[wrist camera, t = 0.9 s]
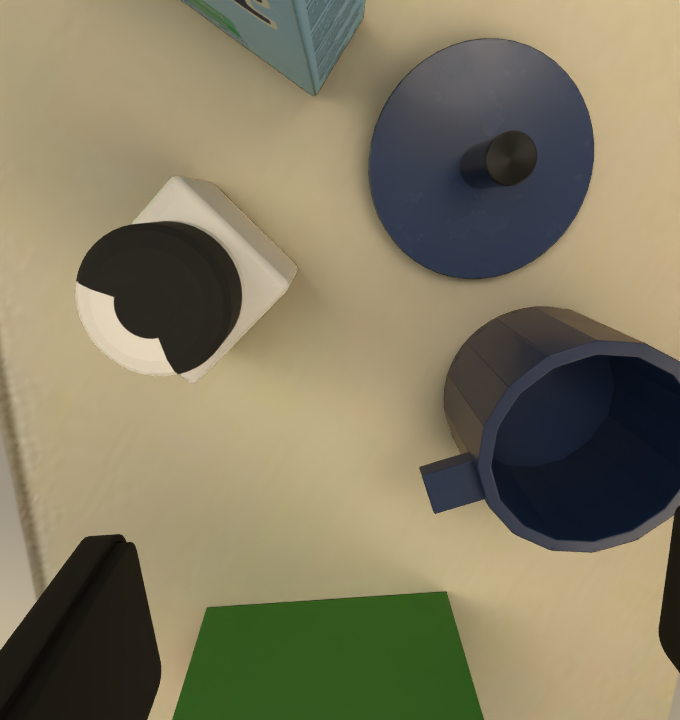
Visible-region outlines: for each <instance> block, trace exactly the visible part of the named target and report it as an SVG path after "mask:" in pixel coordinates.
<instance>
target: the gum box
mask: <svg viewBox="0 0 680 720" xmlns="http://www.w3.org/2000/svg"><path fill="white" fill-rule="evenodd" d="M182 1H183V2H185V3H186V4H187V5H189V6H190V7H191V8H193V9H194V10H196V11H197V12H198V13H200V14H201V15H202V16H204V17H205V18H206V19H208V20H209V21H211V22H212V23H213V24H215V25H216V26H217V27H219V28H220V29H221V30H223V31H224V32H226V33H227V34H228V35H230V36H231V37H232V38H234V39H235V40H236V41H238V42H239V43H241V44H242V45H243V46H245V47H246V48H247V49H249V50H250V51H252V52H253V53H255V54H256V55H257V56H259V57H260V58H261V59H263V60H264V61H265V62H267V63H268V64H269V65H271V66H272V67H274V68H275V69H276V70H278V71H279V72H280V73H282V74H283V75H284V76H286V77H287V78H289V79H290V80H291V81H293V82H294V83H296V84H297V85H298V86H300V87H301V88H303V89H304V90H305V91H307V92H308V93H309V94H311V95H312V96H315V95H317V93H318V91H319V90H320V88H321V86H322V85H323V83H324V81H325V80H326V78H327V77H328V75H329V73H330V72H331V70H332V68H333V67H334V65H335V63H336V62H337V60H338V58H339V57H340V55H341V54H342V52H343V50H344V49H345V47H346V45H347V44H348V42H349V41H350V39H351V37H352V36H353V34H354V33H355V31H356V29H357V28H358V26H359V24H360V22H361V21H362V19H363V17H364V8H365V0H182Z"/></svg>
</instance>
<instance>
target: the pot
mask: <svg viewBox="0 0 680 720" xmlns="http://www.w3.org/2000/svg"><path fill="white" fill-rule="evenodd" d="M444 410H445V414H446V418H447V422H448V424H449V427H450V430H451V433H452V436H453V439H454V441H455V443H456V444H457V446H458V448H459V450H460V452H461V454H460V455H457V456H453V457H450V458H447V459H444V460H440V461H437V462H434V463H431V464H427V465H424V466H421V467H419V469H420V472H421V475H422V478H423V481H424V484H425V487H426V490H427V493H428V496H429V499H430V503H431V506H432V509H433V512H434V513H435V514H436V513H439V512H443V511H446V510H450V509H453V508H456V507H460V506H463V505H466V504H470V503H473V502H476V501H480V500H483V499H485V501H486V503H487V504H488V506H489V507H490V509H491V510H492V511H493V512H494V513H495V514H496V515H497V516H498V517H499V518H500V520H501V521H502V522H503V523H504V524H505V525H506V526H507V527H508V528H509V529H510V531H511V532H512V533H514V534H515V535H517V536H519V537H521V538H524V539H526V540H528V541H531V542H533V543H535V544H537V545H540V546H542V547H544V548H547V549H549V550H552V551H570V552H590V553H592V552H597V551H600V550H604V549H607V548H611V547H614V546H618V545H621V544H625V543H628V542H632V541H635V540H638V539H639V538H641V537H642V536H644V535H645V534H647V533H648V532H650V531H651V530H653V529H654V528H656V527H657V526H659V525H660V524H662V523H663V522H665V521H666V520H668V519H669V518H671V517H672V516H673V515H674V514H675V511H676V508H677V507H678V506H680V361H678V360H676V359H674V358H672V357H670V356H668V355H666V354H665V353H663V352H661V351H659V350H657V349H655V348H653V347H651V346H649V345H647V344H645V343H643V342H641V341H639V340H636V339H634V338H632V337H630V336H628V335H625V334H623V333H621V332H619V331H616V330H614V329H612V328H610V327H607V326H605V325H603V324H601V323H598V322H596V321H594V320H592V319H590V318H587V317H585V316H583V315H581V314H578V313H576V312H574V311H572V310H569V309H561V308H554V307H530V308H523V309H519V310H515V311H511V312H509V313H506V314H504V315H501V316H499V317H497V318H495V319H494V320H492V321H490V322H488V323H487V324H485V325H484V326H483V327H481V328H480V329H479V330H477V331H476V332H475V333H474V334H473V335H472V336H471V337H470V338H469V339H468V340H467V341H466V342H465V344H464V345H463V346H462V347H461V349H460V350H459V352H458V353H457V355H456V356H455V358H454V360H453V362H452V364H451V366H450V369H449V372H448V375H447V378H446V383H445V388H444Z"/></svg>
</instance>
